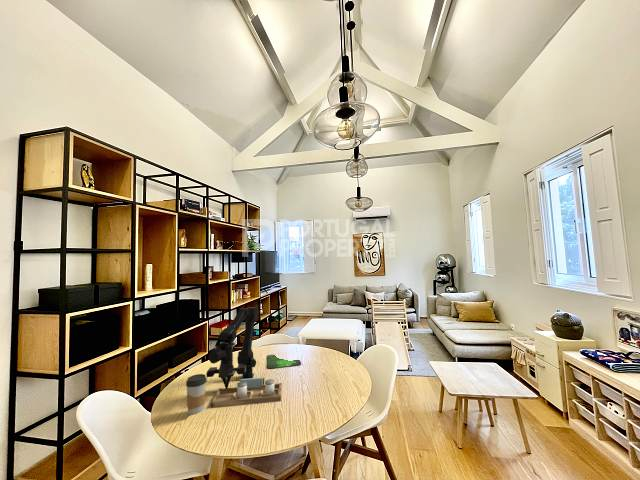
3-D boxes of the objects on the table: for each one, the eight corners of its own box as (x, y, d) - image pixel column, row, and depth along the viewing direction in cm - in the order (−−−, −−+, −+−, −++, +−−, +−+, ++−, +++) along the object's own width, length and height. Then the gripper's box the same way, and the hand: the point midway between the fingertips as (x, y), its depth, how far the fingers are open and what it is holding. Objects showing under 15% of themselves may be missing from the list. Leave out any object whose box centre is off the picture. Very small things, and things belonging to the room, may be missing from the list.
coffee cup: (210, 410, 116) (210, 375, 117) (193, 420, 109) (193, 383, 110) (198, 406, 120) (199, 372, 122) (181, 415, 113) (182, 379, 114)
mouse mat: (266, 355, 187) (266, 354, 187) (296, 352, 192) (296, 351, 192) (267, 370, 161) (266, 368, 161) (302, 366, 165) (302, 364, 166)
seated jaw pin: (238, 396, 125) (238, 382, 126) (247, 395, 126) (247, 381, 127) (236, 401, 121) (236, 386, 122) (246, 400, 122) (246, 385, 122)
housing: (220, 393, 132) (220, 381, 133) (281, 387, 136) (281, 376, 137) (211, 410, 116) (211, 397, 117) (280, 403, 120) (280, 390, 121)
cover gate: (240, 387, 134) (240, 378, 135) (262, 385, 136) (262, 376, 136) (240, 389, 132) (240, 380, 133) (262, 387, 134) (261, 378, 134)
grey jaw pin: (264, 394, 127) (264, 380, 127) (273, 392, 128) (273, 378, 128) (265, 398, 122) (265, 384, 123) (275, 396, 124) (274, 382, 124)
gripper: (203, 363, 125) (202, 397, 123) (243, 360, 127) (243, 394, 126) (209, 355, 136) (209, 387, 134) (246, 353, 138) (246, 383, 137)
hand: (226, 388), depth 132 cm, fingers closed
